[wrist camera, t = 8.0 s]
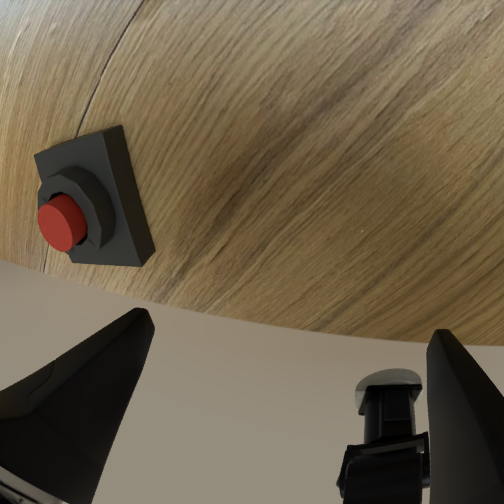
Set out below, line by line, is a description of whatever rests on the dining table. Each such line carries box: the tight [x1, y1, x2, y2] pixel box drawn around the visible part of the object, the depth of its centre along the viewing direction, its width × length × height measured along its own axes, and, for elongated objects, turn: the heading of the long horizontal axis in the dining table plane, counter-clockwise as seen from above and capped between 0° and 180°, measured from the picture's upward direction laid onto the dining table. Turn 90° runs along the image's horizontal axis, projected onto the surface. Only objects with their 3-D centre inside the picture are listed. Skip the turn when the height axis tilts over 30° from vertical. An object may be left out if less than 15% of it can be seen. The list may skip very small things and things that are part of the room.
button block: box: [34, 125, 155, 267], centre depth 20 cm, size 10×8×4 cm
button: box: [38, 194, 88, 252], centre depth 18 cm, size 4×4×2 cm
